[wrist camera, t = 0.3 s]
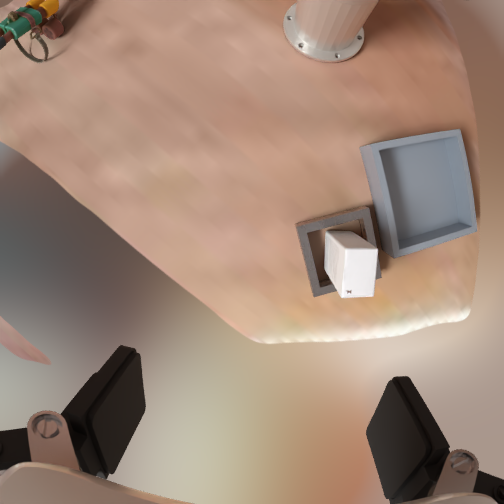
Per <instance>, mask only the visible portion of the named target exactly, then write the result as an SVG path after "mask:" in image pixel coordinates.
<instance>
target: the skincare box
mask: <svg viewBox="0 0 504 504" xmlns="http://www.w3.org/2000/svg"><path fill="white" fill-rule="evenodd" d="M377 257H378V248H376V247H375V246H373V245H372V244H370V243H369V242H367V241H366V240H364V239H363V238H361V237H360V236H358V235H357V234H355V233H354V232H352V231H326V235H325V259H324V269H325V271H326V273H327V274H328V276H329V278H330V279H331V281H332V283H333V284H334V286H335V288H336V290H337V291H338V293H339V295H340V296H341V298H353V297H371V296H374V289H375V280H376V269H377Z"/></svg>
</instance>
